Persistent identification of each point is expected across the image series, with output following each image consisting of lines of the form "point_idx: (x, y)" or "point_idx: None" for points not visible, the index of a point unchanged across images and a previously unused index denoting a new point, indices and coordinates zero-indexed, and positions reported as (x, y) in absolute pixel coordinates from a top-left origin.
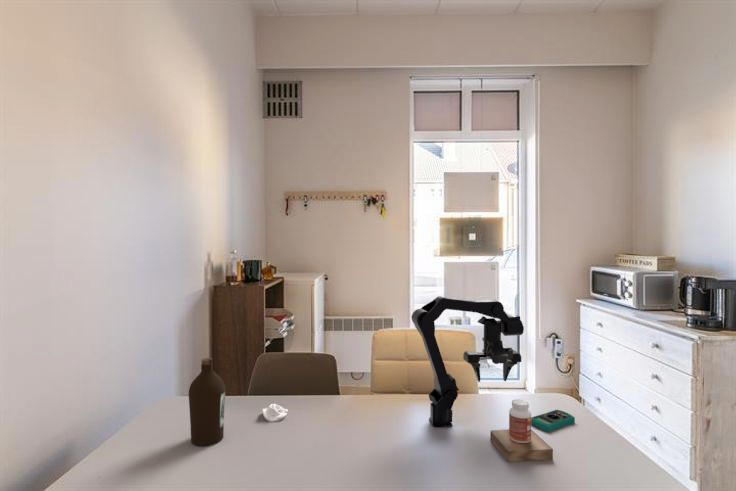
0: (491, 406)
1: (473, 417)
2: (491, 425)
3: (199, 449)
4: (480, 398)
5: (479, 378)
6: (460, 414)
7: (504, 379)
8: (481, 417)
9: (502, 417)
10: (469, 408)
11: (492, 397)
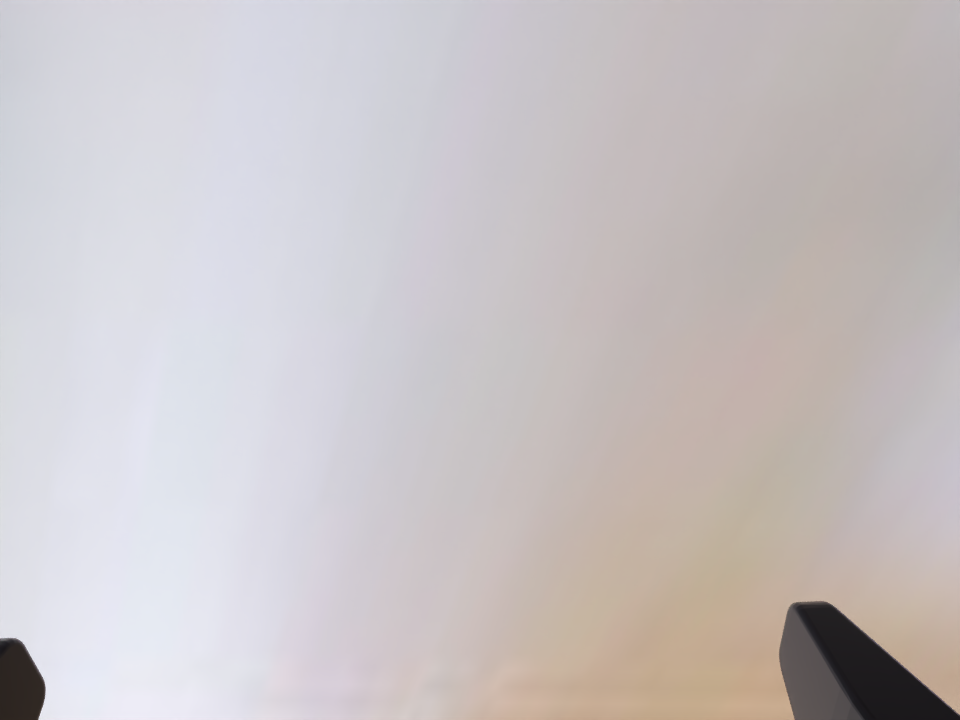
0: (355, 533)
1: (660, 281)
2: (512, 31)
3: None
4: (417, 680)
5: (882, 687)
6: (781, 361)
7: (2, 694)
8: (561, 279)
9: (297, 273)
10: (611, 495)
11: (295, 695)
